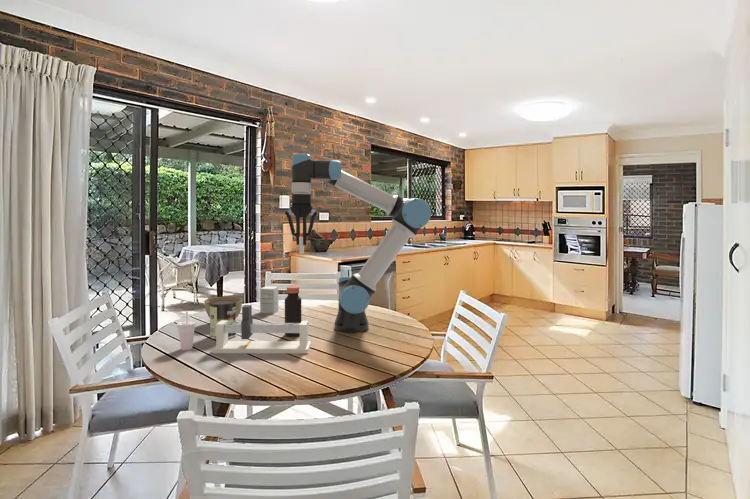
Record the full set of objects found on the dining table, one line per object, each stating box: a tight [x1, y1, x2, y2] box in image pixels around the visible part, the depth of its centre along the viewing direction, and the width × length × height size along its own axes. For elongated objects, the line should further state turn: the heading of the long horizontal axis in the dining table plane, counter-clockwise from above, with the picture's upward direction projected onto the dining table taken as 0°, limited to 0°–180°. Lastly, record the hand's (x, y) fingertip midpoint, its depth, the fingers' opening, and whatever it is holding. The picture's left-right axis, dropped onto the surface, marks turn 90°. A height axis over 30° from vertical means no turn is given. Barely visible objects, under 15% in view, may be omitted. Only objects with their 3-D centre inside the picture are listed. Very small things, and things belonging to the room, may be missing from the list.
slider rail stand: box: [211, 320, 312, 354], centre depth 158 cm, size 34×10×10 cm, turn 92°
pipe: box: [224, 322, 300, 334], centre depth 158 cm, size 29×3×3 cm, turn 92°
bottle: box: [284, 285, 302, 338], centre depth 177 cm, size 7×7×20 cm
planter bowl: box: [204, 296, 243, 319], centre depth 194 cm, size 16×16×11 cm
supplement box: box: [259, 285, 279, 314], centre depth 218 cm, size 7×7×13 cm
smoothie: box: [176, 310, 197, 351], centre depth 157 cm, size 6×6×14 cm
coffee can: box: [209, 300, 238, 340], centre depth 174 cm, size 10×10×14 cm
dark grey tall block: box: [240, 304, 254, 340], centre depth 158 cm, size 2×7×11 cm, turn 2°
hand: (301, 253), depth 171 cm, fingers closed
